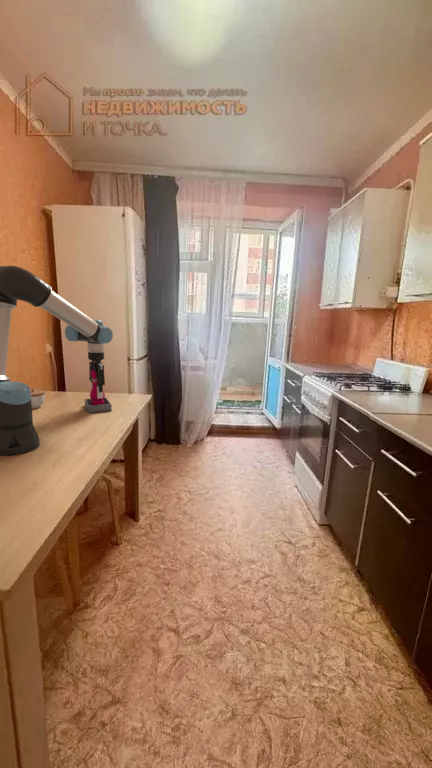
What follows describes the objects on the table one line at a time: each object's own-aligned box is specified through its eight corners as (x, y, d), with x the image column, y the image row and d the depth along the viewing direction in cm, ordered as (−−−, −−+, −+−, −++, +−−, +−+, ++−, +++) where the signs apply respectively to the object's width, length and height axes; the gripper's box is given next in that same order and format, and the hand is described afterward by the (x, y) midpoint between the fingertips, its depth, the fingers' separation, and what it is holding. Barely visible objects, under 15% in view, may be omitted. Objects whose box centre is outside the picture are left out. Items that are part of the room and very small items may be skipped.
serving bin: (111, 410, 172) (111, 404, 172) (88, 413, 167) (88, 406, 167) (106, 403, 184) (106, 397, 184) (84, 405, 179) (84, 399, 179)
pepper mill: (87, 405, 172) (85, 366, 168) (94, 401, 179) (93, 364, 175) (100, 406, 171) (99, 367, 167) (107, 402, 178) (106, 365, 174)
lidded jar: (38, 410, 168) (37, 391, 166) (17, 409, 168) (15, 390, 166) (49, 404, 179) (48, 386, 177) (29, 403, 179) (27, 386, 177)
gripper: (111, 353, 165) (112, 399, 169) (95, 349, 180) (97, 391, 184) (96, 354, 160) (97, 401, 165) (81, 349, 175) (83, 393, 180)
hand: (97, 396), depth 175 cm, fingers closed on pepper mill, 7 cm apart
